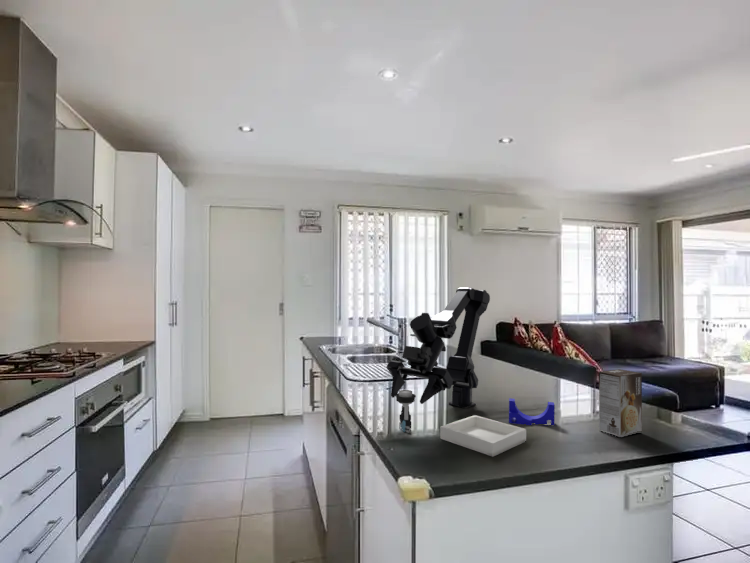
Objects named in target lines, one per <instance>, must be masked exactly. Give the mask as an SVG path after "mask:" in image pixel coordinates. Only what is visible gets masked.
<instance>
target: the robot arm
mask: <svg viewBox="0 0 750 563" xmlns="http://www.w3.org/2000/svg"><path fill="white" fill-rule="evenodd" d="M490 301H491V296H490V294H489V293H488V291H487V290H486V289H474V288H472V287H470V286H469V287H466V286H465V287H463V286H461V287H458V288H456V292H455V294H454V295H453V296H452V298H451V299H450V300H449V302H448V304H447V305H446V306H445V308H444V309H443V310H442V311H441V312H439V313H436V314H435V315H434V316H433V317H431V316H430V314H429V312H422V313H421V314H420V315H418V316H416V317H414V318H413V319H411V320H410V323H409V327H410V328H411V330H412V332H413V334H414V336H415V338H416V339H417V341H418V342H419V343H420V344H421V346H420V347H417V346H410V345H404V348H403V352H402V359H406V360H407V365H408V366H409V367H406V366H405V365H404V363H403V362H402V361H399V360H398V361H397V360H389V361H388V363H387V365H386V366H385V367H386V369H387V371H388V373H389V374H390V375H391V378H392V383H391V390H390V391H391V392H390V396H391V398H392V399H394V398H395V397H396V394H398V393H399V391H400V390H402V388H403V386H404V384H406V381H405V380H407V379H408V376H411V377H417V378H421V379H427V384H426V386H425V388H424V390H423V393H422V394H421V398H420V399H419V403H420V404H421V405H423V404H425V402H427V401H429V400H430V399H431V398H432V397H434V396H435V395H437V394H439V393H440V392H442V391H446V389H448V390H450V389H451V388H452V391H451V393H452V394H451V401H449V402H448V404H449V405H451V406H455V407H459V408H463V409H466V408H470V407H473V406H476V404H477V403H476V402H473V389H477V387H478V385H479V378H478V376H477V375H476V372H475V364H474V361H473V359H472V355H473V351H474V346H475V341H476V336H477V332H478V327H479V322H480V317H481V316H482V315H483V314H484V313H485V312H486V311H487V309H488V305H489V303H490ZM463 311H465V312H464V318H463V321H462V322H463V323H462V325H461V330H460V331H461V332H460V335H459V339H458V344H457V348H456V352H455V354H454V355H449V357H448V360H447V364H446V367H444V368H443V367H438V365H439V362H438V359H439V356H440V354H441V352H446V351H447V349H446V345H445V341H443V339H446V340H447V339H452V338H453V337H454V334H455V333H456V330H457V324H456V323H457V320H458V319H459V318H460V316H461V314H462V313H463Z"/></svg>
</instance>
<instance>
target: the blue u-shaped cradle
mask: <svg viewBox="0 0 750 563" xmlns="http://www.w3.org/2000/svg"><path fill="white" fill-rule="evenodd" d="M555 407H556V406H555V402H552V401H548V402H547V406H546V408H545V410H543V412H541V413H539V414H537V415H528V414H526V413H523V412H522V411H521V410H520V409H519V408H518V406H517V405H516V399H515V398H510V397H509V398H508V424H516V425H524V424H526V425H525V426H532V425H533V424H532V423H535V424H534V425H538V424H547V422H549V421H550V422H551V425H554V426H555Z"/></svg>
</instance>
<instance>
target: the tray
mask: <svg viewBox="0 0 750 563" xmlns="http://www.w3.org/2000/svg"><path fill="white" fill-rule="evenodd" d="M439 428H440V429H439V430H440V431H439V433H440V434H439V438H440V440H443V441H447V442H449V443H452V444H455V445H458V446H461V447H463V448H467V449H469V450H473V451H476V452H478V453H481V454H483V455H487V456H490V457H492V458H493V457H495V456H497V455H500V454H502V453H503V452H506V451H509V450H511V449H512V448H514V447H517V446H519V445H521V444H523V443H526V442H527V428H523V427H520V426H516V425H513V424H510V423H505V422H502V421H497V420H495V419H491V418H487V417H485V416H480V415H476V414H473V415H472V416H468V417H466V418H465V417H464V418H462V419H459V420H455V421H453V422H450V423H447V424H444V425H441V426H440V427H439ZM525 441H526V442H525Z"/></svg>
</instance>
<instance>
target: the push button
mask: <svg viewBox="0 0 750 563" xmlns="http://www.w3.org/2000/svg"><path fill="white" fill-rule="evenodd" d="M395 397H396V399H395V400H396V402H397V403H399V404H400V405H401V410H400V414H399V416H398V418H399V424H398V427H399V430H401V431H402V432H403V433H410V432H411V429H412V414H410V406H409V405H411V404H413V403H415V400H416V399H415V398H416V397H417V396H416V394H414V393H413V391H412V390H410V389H409V390H408V389H400V390H399V392H398V393H397V394H396V396H395Z"/></svg>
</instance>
